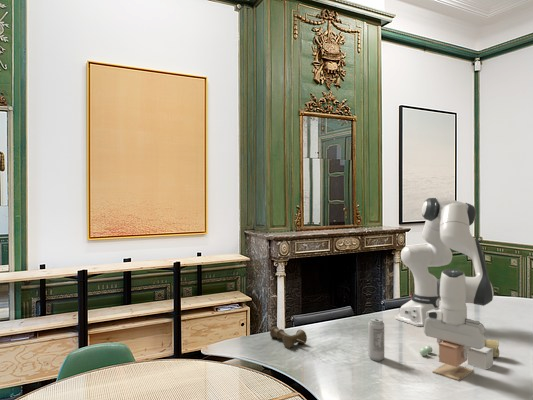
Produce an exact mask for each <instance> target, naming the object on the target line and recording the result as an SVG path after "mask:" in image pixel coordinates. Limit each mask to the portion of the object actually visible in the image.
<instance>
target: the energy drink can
mask: <svg viewBox="0 0 533 400" xmlns="http://www.w3.org/2000/svg"><path fill="white" fill-rule="evenodd" d="M383 321H384V320H383V319H382V318H379V317H371V318H369V321H368V322H367V325H368V326H367V327H368V328H367V330H368V331H367V332H368V333H367V335H368V336H367V338H368V339H367V340H368V345H367V346H368V347H367V348H368V349H367V351H368V354H367V355H368V357H369V359H370V360H372V361H377V362H380V361H383V360H384V358H385V323H384V322H383Z"/></svg>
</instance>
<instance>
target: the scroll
mask: <svg viewBox="0 0 533 400" xmlns="http://www.w3.org/2000/svg"><path fill="white" fill-rule="evenodd" d="M443 341H444V340H443ZM443 341H442V342H443ZM499 345H500V341H499V340H497V339H496V340H495V339H485V346H484V347H488V348H492V349H493V357H495V358H499V357H500V350H499V347H500V346H499ZM467 355H468V353H467Z"/></svg>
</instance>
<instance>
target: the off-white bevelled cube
mask: <svg viewBox="0 0 533 400" xmlns="http://www.w3.org/2000/svg"><path fill="white" fill-rule="evenodd" d="M467 365H469V366H473V367H476V368H479V369H482V370H488V369H490V368H491V367H492V366H493V365H494V356H493V349H492V348H488V347H483V348H482V349H480V350H479V349H475V348H471V349H470V350H469V351H468V354H467Z"/></svg>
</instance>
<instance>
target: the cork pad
mask: <svg viewBox="0 0 533 400" xmlns="http://www.w3.org/2000/svg"><path fill="white" fill-rule="evenodd" d="M473 371H474V369H472V368H469V367H465V366H462V365H459V366H457V367H455V366H451V365H448V364H445V363H443V364H442V365H440V366H439V367H437V368H435V369H434V370H432V373H433V374H436V375H438V376H439V375H440V376H442V377H445V378H448V379H451V380H453V381H457V382H460V381H461V380H463V378H465V377H467V376H468V375H470V374H471V373H473Z"/></svg>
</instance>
